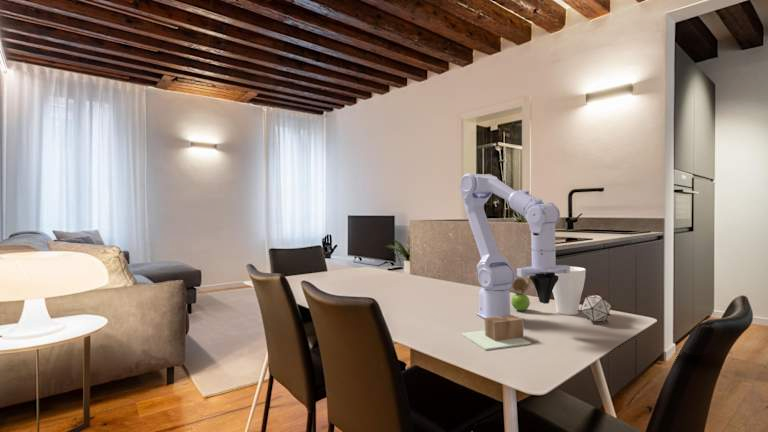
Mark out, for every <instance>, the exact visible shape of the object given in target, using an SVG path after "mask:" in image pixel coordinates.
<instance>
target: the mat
mask: <svg viewBox="0 0 768 432" xmlns="http://www.w3.org/2000/svg"><path fill="white" fill-rule="evenodd" d="M460 334H461V336H463V337H465V338H466V339H467V340H469V341H470V342H472V343H473V344H475V346H478V347H479V348H481V349H483V350H484V351H490V350H491V351H493V350H497V349H498V350H499V349H500V350H501V349H505V348H506V349H507V348H512V347H521V346H527V345H531V344H532V343H531V342H530V341H528V340H526V339H524V338H515V339H507V340H500V341H494V340H492V339H491V338H489V337H487V336H485V329H484V330H477V331H470V332H469V331H468V332H461V333H460Z"/></svg>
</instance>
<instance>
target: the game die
mask: <svg viewBox="0 0 768 432" xmlns="http://www.w3.org/2000/svg"><path fill="white" fill-rule="evenodd" d="M583 296H584V300H582V301H581V303H582V305H581V307H580V309H579V310H578V312H581V313H582V314H583V315H584V316H586V319H587V320H590V321H592V325H595V324H596V322H601V321H602V322H603V321H605V322H606V323H609V321H608V320H607V319H608V317H609V316H610V317H611V316H612V315H611V314H610V311H611V309H612V307H615V305H614V304H611V303H609V302H608V300H606V296H600V293H599V292H597V293H596V294H595V295H594V294H593V295H587V294H585V293H584V294H583Z"/></svg>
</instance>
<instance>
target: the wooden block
mask: <svg viewBox="0 0 768 432" xmlns="http://www.w3.org/2000/svg"><path fill="white" fill-rule="evenodd" d="M484 330H485V336H487V337H489V338H491V339H492V340H494V341H500V340H507V339H515V338H522V339H524V337H525V336H524V335H525V334H524V333H525V332H524V318H522V317H519V316H517V315H514V314H510V315H505V316H496V317H487V318H484Z"/></svg>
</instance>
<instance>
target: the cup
mask: <svg viewBox="0 0 768 432" xmlns="http://www.w3.org/2000/svg"><path fill="white" fill-rule="evenodd" d="M569 266H570V265H569ZM586 270H587V269H586V268H584V267H579V266H570V273H559V274H555V275H557V276H558V281H557V282H556V284H555V286H554V288H553V290H552V294H553V297H554V298H553V299H554V303H555V309H556V312H557V313H558V314H561V315H566V316H567V315H568V316H576V315H578V314H579V312H578V310H580V303H581V297H582V293H583V290H584V285H585V281H586Z"/></svg>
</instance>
